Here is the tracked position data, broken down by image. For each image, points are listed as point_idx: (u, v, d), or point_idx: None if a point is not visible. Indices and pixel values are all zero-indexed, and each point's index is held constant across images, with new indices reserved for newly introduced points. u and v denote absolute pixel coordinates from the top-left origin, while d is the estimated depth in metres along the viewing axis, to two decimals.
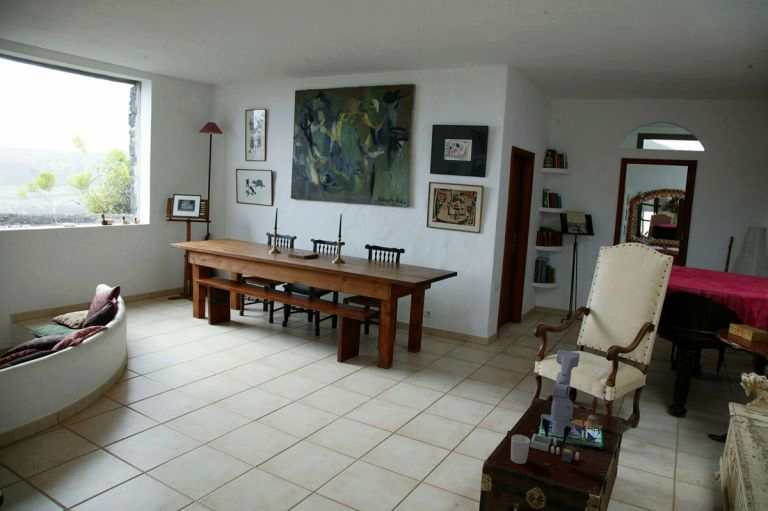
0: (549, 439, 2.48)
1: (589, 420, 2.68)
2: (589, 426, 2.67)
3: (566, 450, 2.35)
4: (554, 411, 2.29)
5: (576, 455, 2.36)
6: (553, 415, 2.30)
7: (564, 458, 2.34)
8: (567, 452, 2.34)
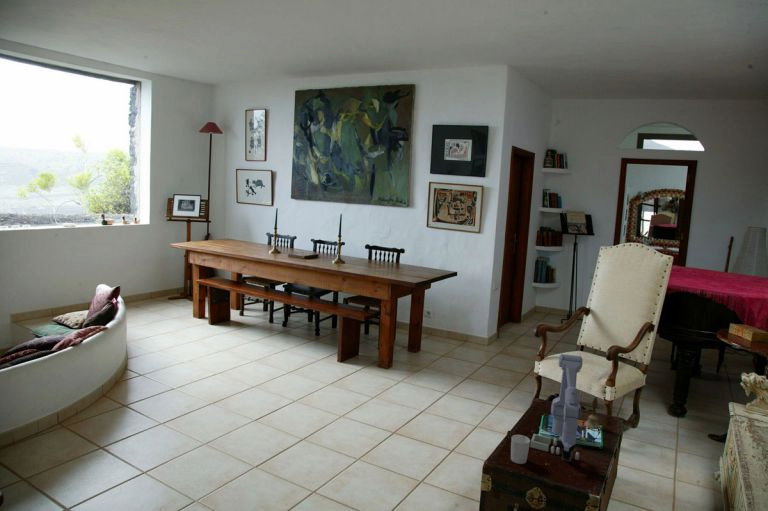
0: (549, 439, 2.48)
1: (589, 420, 2.68)
2: (589, 426, 2.67)
3: None
4: None
5: (576, 455, 2.36)
6: None
7: None
8: None
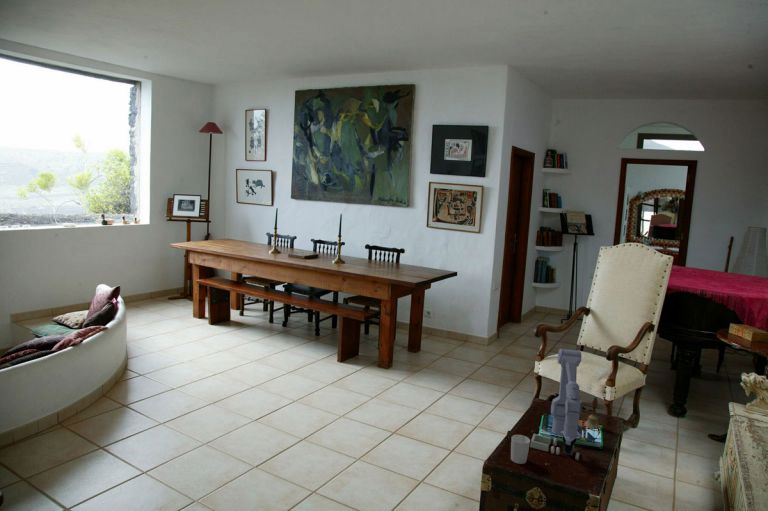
0: (549, 439, 2.48)
1: (589, 420, 2.68)
2: (589, 426, 2.67)
3: None
4: None
5: (576, 455, 2.36)
6: None
7: None
8: None
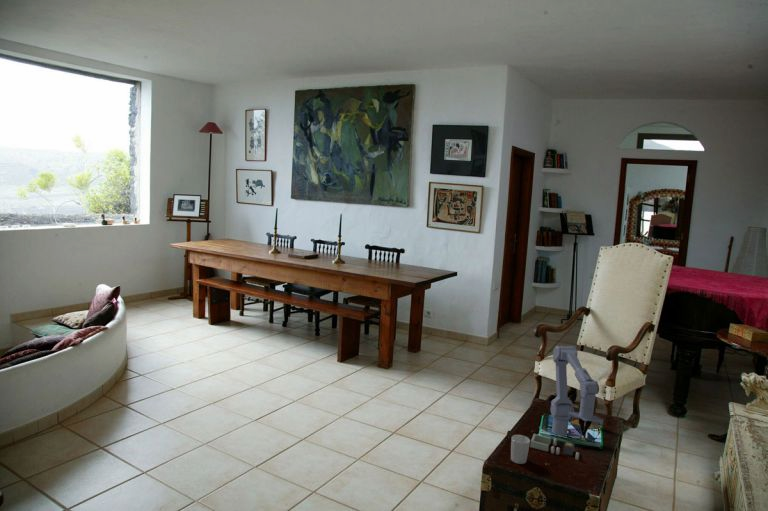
0: (549, 439, 2.48)
1: None
2: None
3: (568, 444, 2.41)
4: (583, 408, 2.34)
5: (576, 455, 2.36)
6: (582, 412, 2.35)
7: (566, 451, 2.40)
8: (569, 445, 2.40)
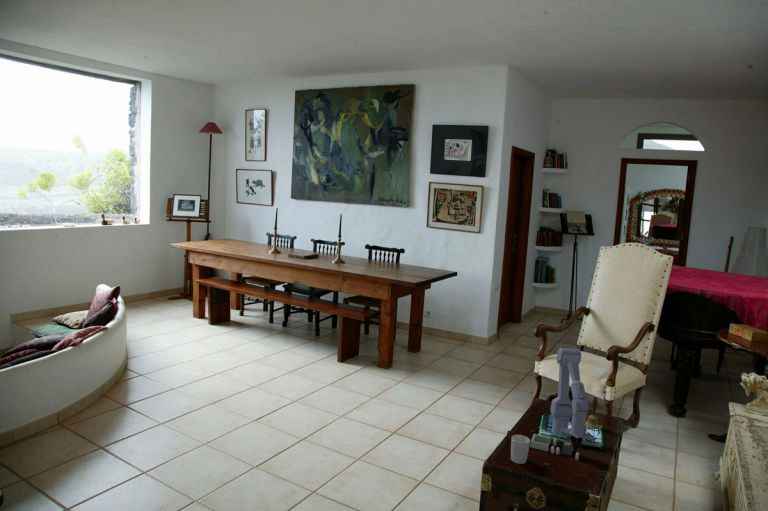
0: (549, 439, 2.48)
1: (589, 420, 2.68)
2: (589, 426, 2.67)
3: (567, 443, 2.41)
4: (575, 425, 2.37)
5: (576, 455, 2.36)
6: (574, 429, 2.37)
7: (565, 451, 2.40)
8: (568, 445, 2.40)
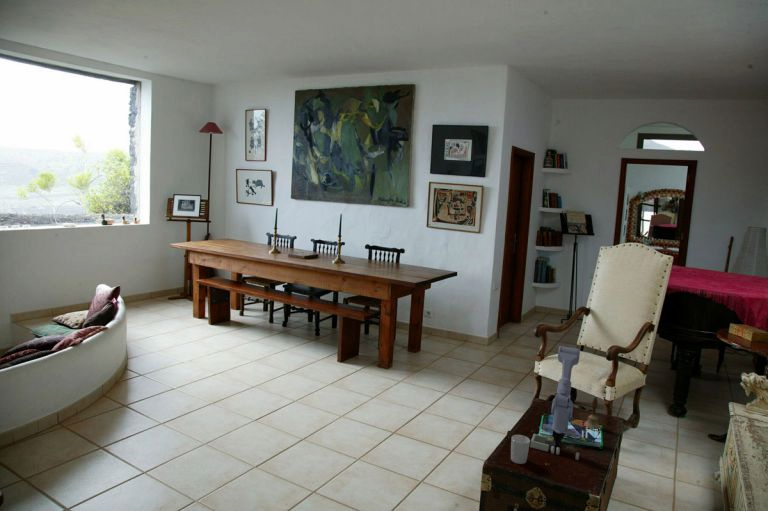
0: None
1: (589, 420, 2.68)
2: (589, 426, 2.67)
3: (549, 439, 2.45)
4: (557, 420, 2.40)
5: (576, 455, 2.36)
6: (555, 424, 2.40)
7: None
8: (550, 440, 2.43)
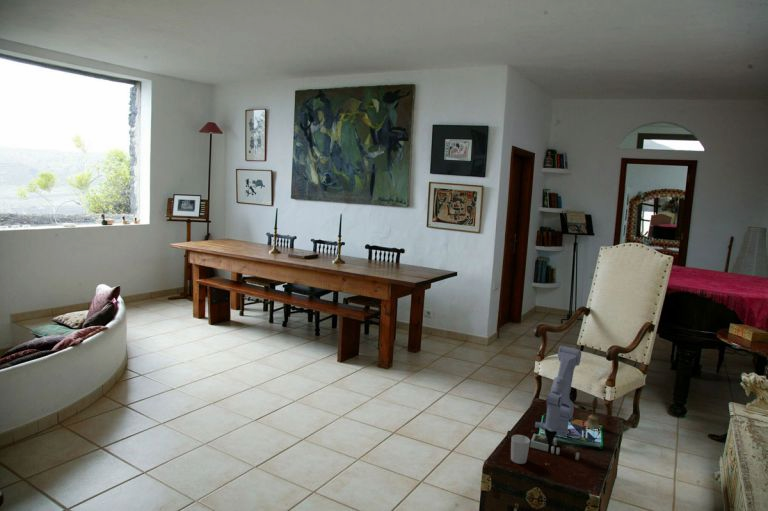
0: None
1: (589, 420, 2.68)
2: (589, 426, 2.67)
3: (541, 437, 2.46)
4: (549, 419, 2.41)
5: (576, 455, 2.36)
6: (548, 422, 2.42)
7: None
8: (542, 438, 2.45)
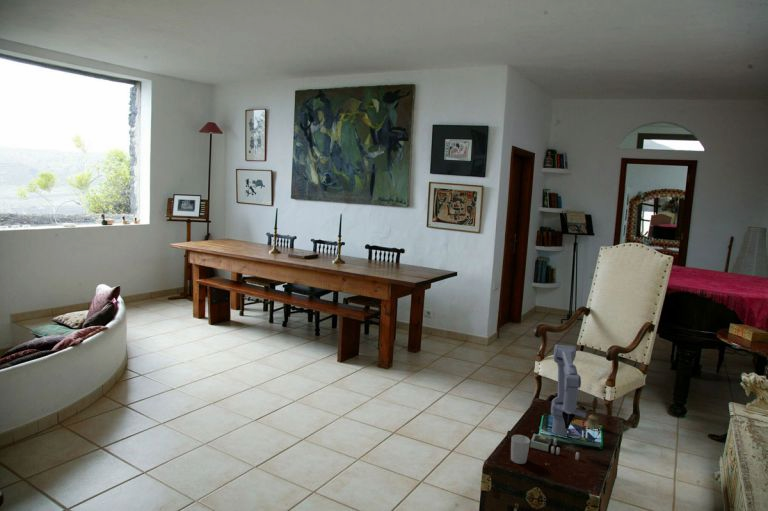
0: (549, 439, 2.48)
1: (589, 420, 2.68)
2: (589, 426, 2.67)
3: (541, 437, 2.46)
4: (567, 401, 2.40)
5: (576, 455, 2.36)
6: (566, 405, 2.40)
7: None
8: (542, 439, 2.45)
